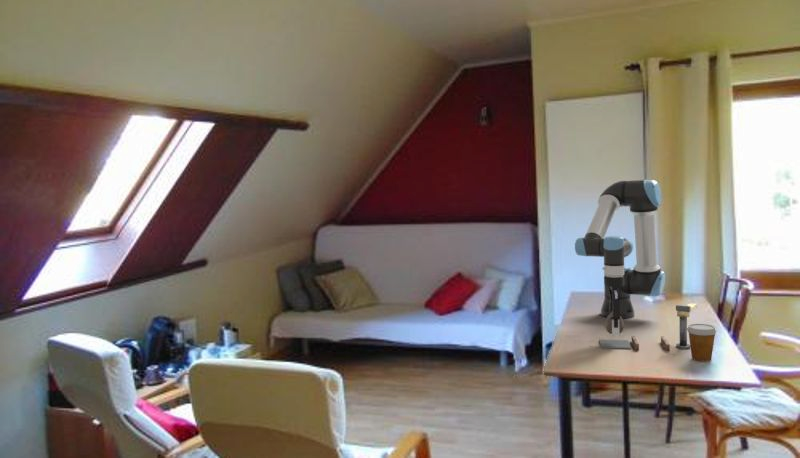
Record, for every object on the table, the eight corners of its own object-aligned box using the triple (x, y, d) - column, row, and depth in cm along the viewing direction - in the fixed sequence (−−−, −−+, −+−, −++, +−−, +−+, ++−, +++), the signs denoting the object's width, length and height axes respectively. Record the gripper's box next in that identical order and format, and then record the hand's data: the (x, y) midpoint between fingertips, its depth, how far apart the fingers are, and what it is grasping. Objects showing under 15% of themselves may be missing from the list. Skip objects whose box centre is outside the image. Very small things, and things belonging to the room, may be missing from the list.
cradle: (631, 341, 246) (631, 335, 246) (663, 342, 243) (663, 336, 243) (636, 350, 234) (636, 344, 234) (669, 351, 231) (669, 344, 231)
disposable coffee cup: (707, 354, 226) (707, 322, 225) (721, 362, 216) (722, 329, 215) (682, 355, 225) (682, 324, 224) (695, 363, 216) (695, 330, 215)
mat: (599, 340, 249) (599, 339, 249) (627, 341, 247) (627, 340, 247) (601, 348, 238) (601, 347, 238) (631, 349, 236) (631, 347, 236)
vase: (612, 336, 238) (612, 314, 237) (601, 332, 244) (601, 310, 244) (627, 334, 240) (627, 312, 239) (616, 330, 246) (616, 309, 246)
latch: (700, 308, 246) (700, 298, 245) (688, 317, 232) (688, 307, 231) (686, 307, 249) (686, 297, 249) (674, 316, 235) (674, 306, 234)
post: (674, 345, 239) (674, 314, 238) (688, 345, 238) (688, 314, 237) (677, 348, 234) (677, 317, 233) (691, 349, 233) (691, 317, 232)
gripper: (601, 271, 251) (602, 326, 253) (606, 279, 231) (607, 339, 233) (621, 271, 249) (621, 327, 251) (627, 279, 230) (628, 339, 232)
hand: (614, 332), depth 242 cm, fingers closed on vase, 7 cm apart
